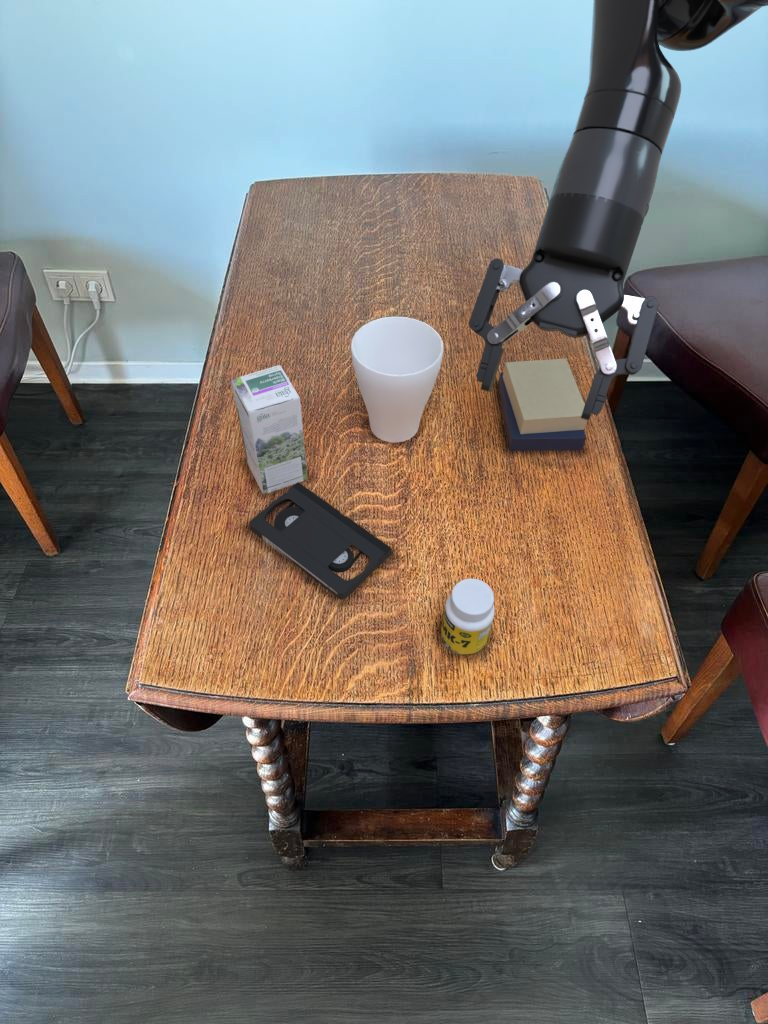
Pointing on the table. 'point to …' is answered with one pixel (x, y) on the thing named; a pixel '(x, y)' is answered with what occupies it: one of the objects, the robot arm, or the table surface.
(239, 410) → the syrup box
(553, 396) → the book stack
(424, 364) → the cup
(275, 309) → the table surface
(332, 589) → the vhs tape
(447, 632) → the supplement bottle
